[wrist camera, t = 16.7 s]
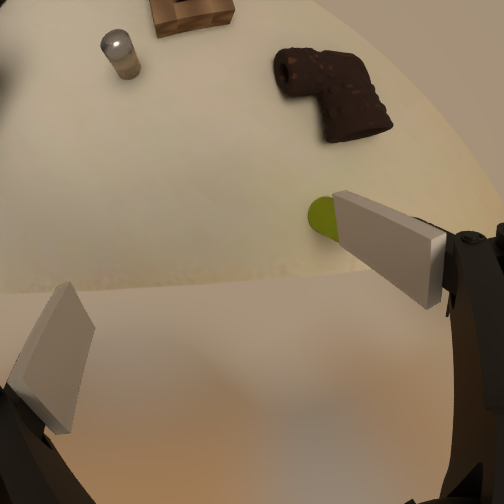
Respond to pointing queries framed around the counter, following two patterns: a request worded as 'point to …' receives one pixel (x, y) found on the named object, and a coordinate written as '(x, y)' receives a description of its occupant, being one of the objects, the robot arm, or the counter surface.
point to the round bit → (121, 53)
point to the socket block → (189, 15)
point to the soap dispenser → (324, 217)
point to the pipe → (334, 90)
